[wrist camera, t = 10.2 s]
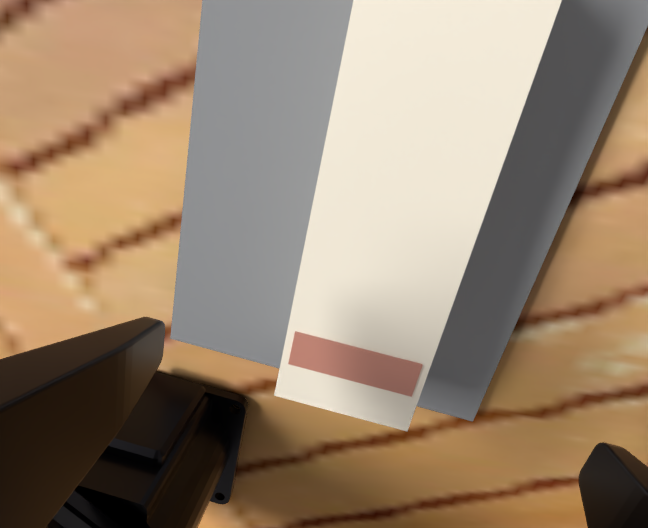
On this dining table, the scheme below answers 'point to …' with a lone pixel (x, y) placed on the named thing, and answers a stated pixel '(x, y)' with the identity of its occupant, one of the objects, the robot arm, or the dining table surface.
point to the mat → (304, 163)
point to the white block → (404, 194)
